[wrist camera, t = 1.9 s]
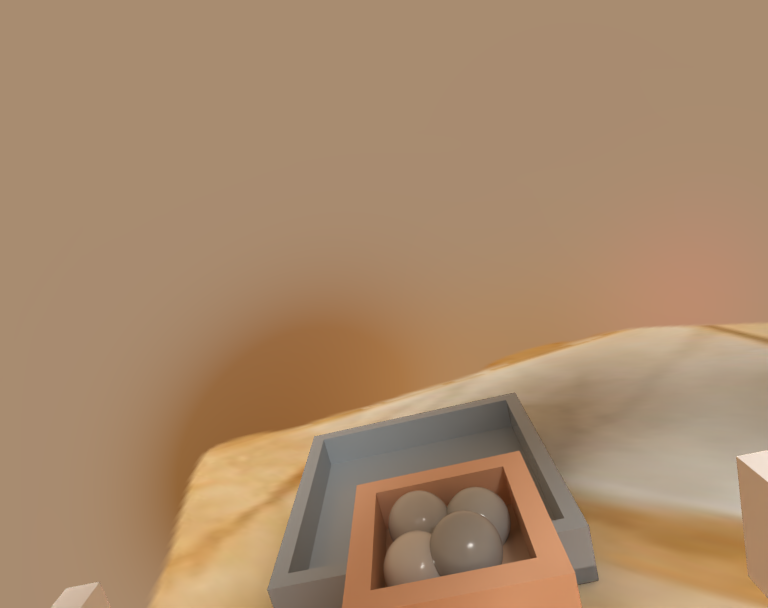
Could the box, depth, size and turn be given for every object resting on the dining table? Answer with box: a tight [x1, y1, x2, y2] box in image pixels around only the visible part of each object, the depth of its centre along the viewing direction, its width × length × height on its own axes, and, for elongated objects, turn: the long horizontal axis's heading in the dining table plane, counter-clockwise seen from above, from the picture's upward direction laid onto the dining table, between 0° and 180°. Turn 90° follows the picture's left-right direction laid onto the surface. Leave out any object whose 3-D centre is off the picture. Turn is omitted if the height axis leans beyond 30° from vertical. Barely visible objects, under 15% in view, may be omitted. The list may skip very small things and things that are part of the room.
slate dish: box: [267, 393, 599, 608], centre depth 38 cm, size 18×18×4 cm
